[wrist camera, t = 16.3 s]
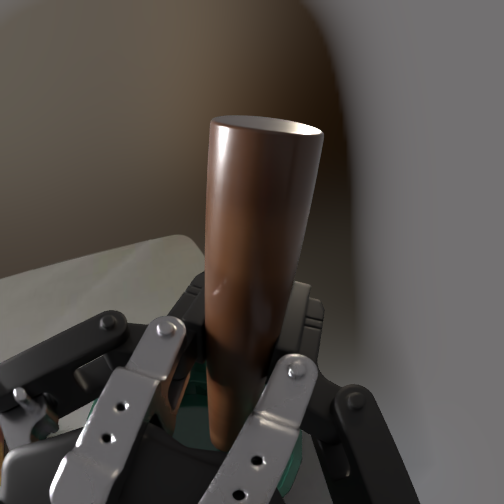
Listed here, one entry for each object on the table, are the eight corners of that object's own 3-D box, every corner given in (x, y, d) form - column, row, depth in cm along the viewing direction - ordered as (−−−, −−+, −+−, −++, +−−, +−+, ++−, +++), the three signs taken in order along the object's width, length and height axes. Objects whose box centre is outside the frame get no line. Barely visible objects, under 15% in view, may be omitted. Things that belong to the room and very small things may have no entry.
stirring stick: (253, 426, 16) (326, 127, 6) (242, 457, 14) (321, 140, 4) (217, 415, 16) (233, 113, 7) (204, 445, 14) (190, 122, 5)
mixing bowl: (260, 374, 23) (268, 339, 21) (307, 511, 13) (331, 505, 10) (111, 385, 20) (93, 351, 17) (119, 531, 9) (91, 529, 7)
